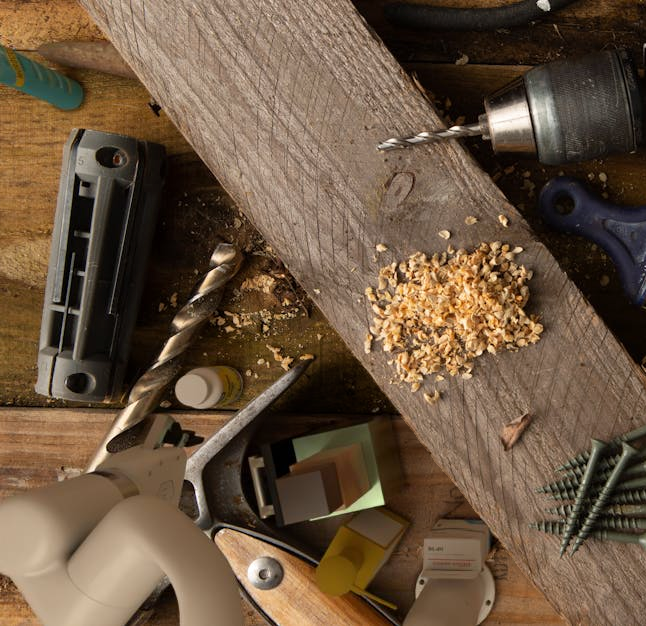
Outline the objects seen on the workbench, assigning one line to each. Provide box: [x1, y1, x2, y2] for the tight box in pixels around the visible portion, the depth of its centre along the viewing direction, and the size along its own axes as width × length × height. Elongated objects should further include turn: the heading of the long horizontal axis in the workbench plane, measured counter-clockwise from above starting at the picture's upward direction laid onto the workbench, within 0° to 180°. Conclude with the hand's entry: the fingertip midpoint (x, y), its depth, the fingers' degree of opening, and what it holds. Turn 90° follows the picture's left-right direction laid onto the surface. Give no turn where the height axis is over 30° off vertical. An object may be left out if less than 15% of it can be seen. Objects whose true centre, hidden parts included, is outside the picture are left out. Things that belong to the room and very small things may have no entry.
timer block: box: [275, 462, 343, 525], centre depth 99 cm, size 6×6×6 cm
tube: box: [0, 43, 84, 111], centre depth 117 cm, size 7×5×19 cm, turn 32°
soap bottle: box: [315, 505, 411, 611], centre depth 115 cm, size 7×13×24 cm, turn 60°
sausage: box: [37, 40, 140, 81], centre depth 124 cm, size 6×18×6 cm
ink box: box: [420, 518, 491, 579], centre depth 120 cm, size 9×5×15 cm, turn 89°
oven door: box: [247, 427, 320, 528], centre depth 121 cm, size 5×12×13 cm, turn 12°
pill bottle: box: [174, 365, 244, 410], centre depth 121 cm, size 6×6×11 cm
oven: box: [292, 412, 406, 522], centre depth 120 cm, size 11×12×13 cm
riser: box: [290, 443, 371, 512], centre depth 108 cm, size 7×6×12 cm
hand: (184, 476), depth 98 cm, fingers open, 9 cm apart
